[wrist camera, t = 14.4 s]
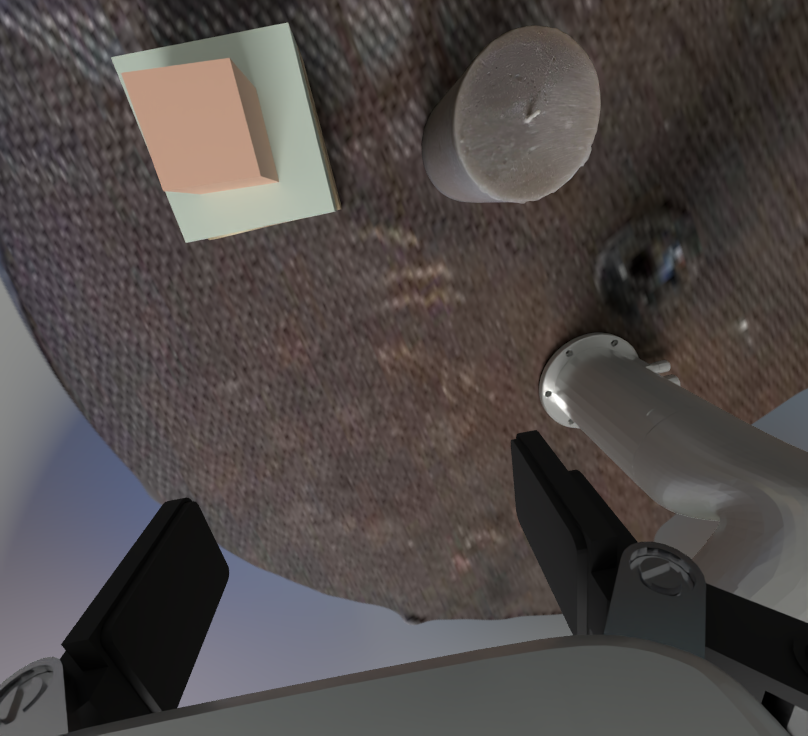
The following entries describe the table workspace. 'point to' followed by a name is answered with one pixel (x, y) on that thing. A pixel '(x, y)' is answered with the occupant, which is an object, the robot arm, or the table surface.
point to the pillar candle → (514, 119)
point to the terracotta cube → (202, 126)
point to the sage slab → (285, 124)
